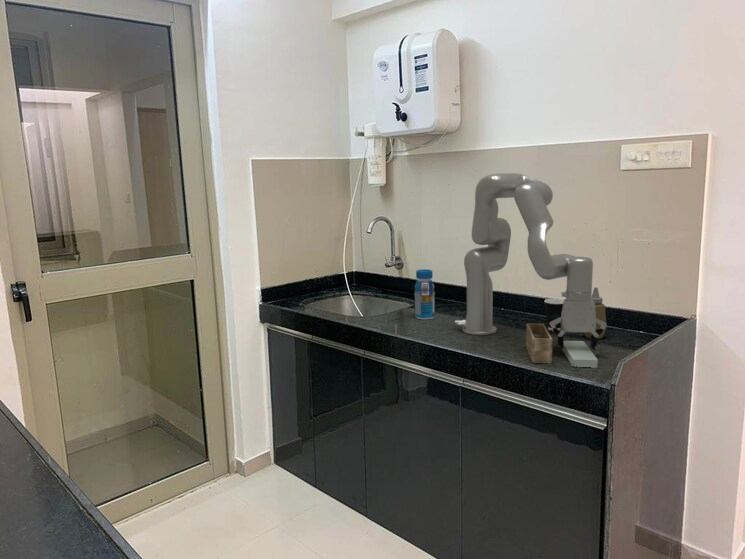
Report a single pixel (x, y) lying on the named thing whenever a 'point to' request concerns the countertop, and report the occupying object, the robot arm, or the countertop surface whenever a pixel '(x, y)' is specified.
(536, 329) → the box
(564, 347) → the lid
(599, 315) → the squeeze bottle
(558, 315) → the dixie cup
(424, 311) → the beverage bottle
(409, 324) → the countertop surface
